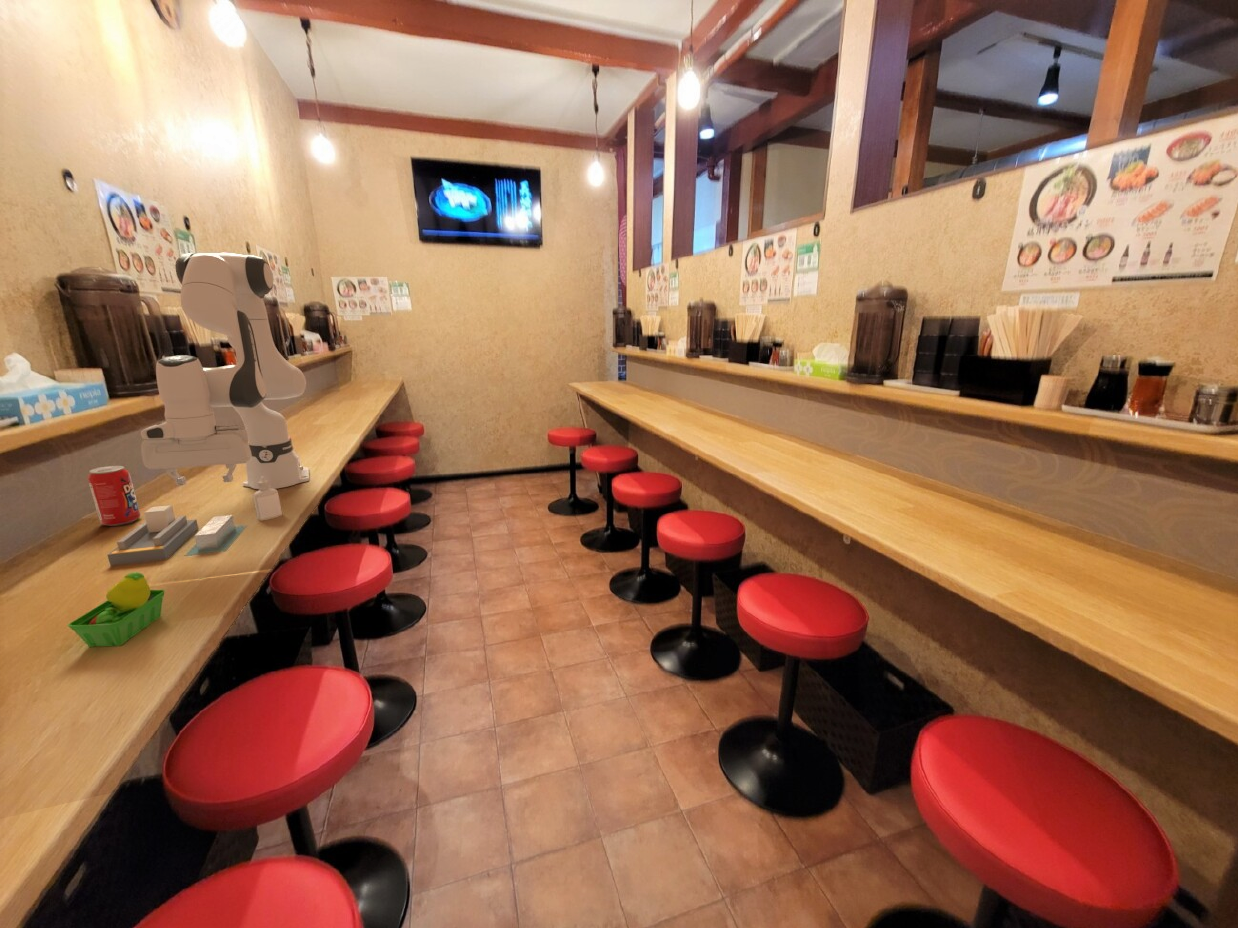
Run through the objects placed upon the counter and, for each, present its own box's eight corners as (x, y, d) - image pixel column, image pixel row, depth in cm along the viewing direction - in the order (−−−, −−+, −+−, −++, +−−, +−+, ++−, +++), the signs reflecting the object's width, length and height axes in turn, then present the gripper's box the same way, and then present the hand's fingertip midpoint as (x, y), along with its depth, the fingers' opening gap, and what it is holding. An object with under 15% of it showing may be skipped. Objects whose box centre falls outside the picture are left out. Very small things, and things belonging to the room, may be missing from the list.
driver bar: (217, 530, 130) (214, 516, 129) (235, 529, 131) (232, 514, 130) (198, 550, 119) (194, 535, 118) (218, 548, 121) (215, 533, 119)
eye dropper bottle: (280, 519, 139) (272, 478, 135) (256, 522, 137) (247, 480, 133) (283, 513, 143) (276, 473, 139) (260, 516, 141) (252, 475, 137)
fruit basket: (129, 613, 95) (114, 560, 92) (180, 612, 96) (166, 558, 93) (73, 652, 84) (52, 593, 81) (130, 650, 85) (112, 591, 82)
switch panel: (150, 534, 128) (146, 516, 126) (198, 529, 131) (194, 512, 130) (110, 567, 112) (104, 546, 110) (166, 560, 115) (161, 540, 113)
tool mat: (211, 529, 131) (210, 528, 131) (247, 526, 134) (247, 525, 134) (184, 556, 117) (184, 555, 117) (225, 552, 119) (225, 551, 119)
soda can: (92, 526, 132) (76, 472, 127) (124, 515, 139) (110, 463, 135) (118, 528, 131) (103, 474, 126) (149, 517, 138) (135, 465, 134)
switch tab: (156, 526, 125) (151, 506, 124) (176, 524, 126) (171, 505, 125) (148, 532, 122) (143, 512, 120) (169, 530, 123) (164, 510, 121)
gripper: (249, 422, 123) (259, 475, 127) (145, 426, 117) (159, 482, 120) (241, 427, 118) (252, 483, 122) (131, 432, 111) (146, 491, 115)
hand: (205, 483), depth 121 cm, fingers open, 8 cm apart
